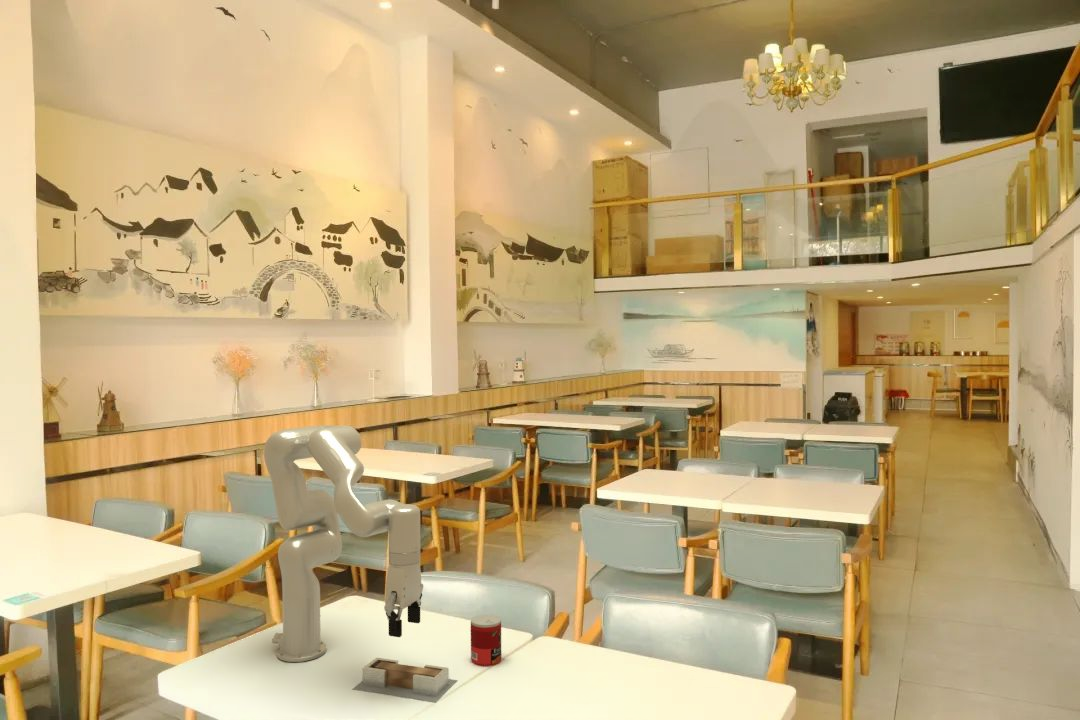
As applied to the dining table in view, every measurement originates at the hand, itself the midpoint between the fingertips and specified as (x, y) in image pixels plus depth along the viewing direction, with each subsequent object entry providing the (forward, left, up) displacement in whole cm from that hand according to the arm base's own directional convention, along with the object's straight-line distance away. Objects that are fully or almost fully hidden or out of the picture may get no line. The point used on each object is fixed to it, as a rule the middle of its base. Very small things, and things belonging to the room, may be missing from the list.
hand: (404, 628), depth 178 cm
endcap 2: (+7, 0, -13) cm, 15 cm away
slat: (+1, 0, -13) cm, 13 cm away
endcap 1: (-7, 0, -13) cm, 15 cm away
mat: (0, 0, -14) cm, 14 cm away
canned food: (+13, +19, -14) cm, 27 cm away
